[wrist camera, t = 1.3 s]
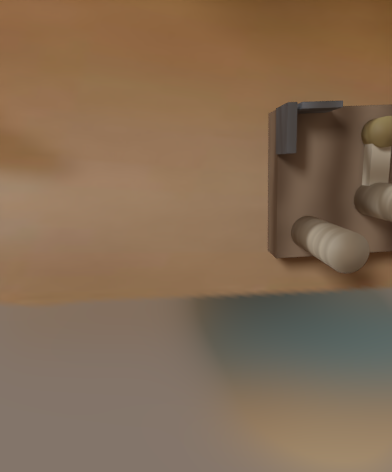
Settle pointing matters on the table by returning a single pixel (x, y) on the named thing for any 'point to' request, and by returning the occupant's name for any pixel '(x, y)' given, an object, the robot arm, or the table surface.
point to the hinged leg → (376, 170)
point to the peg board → (321, 184)
